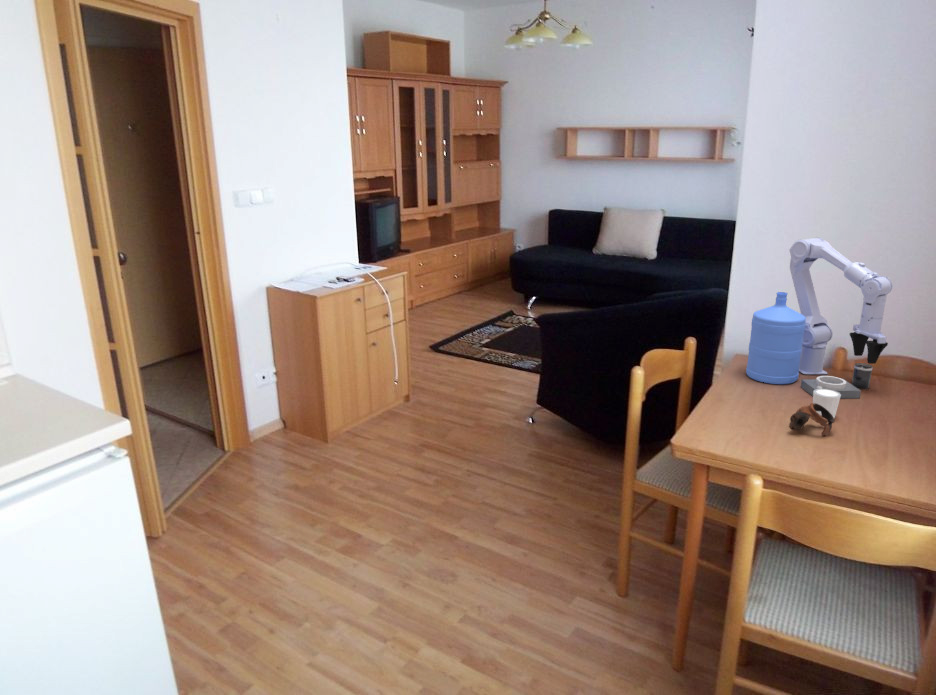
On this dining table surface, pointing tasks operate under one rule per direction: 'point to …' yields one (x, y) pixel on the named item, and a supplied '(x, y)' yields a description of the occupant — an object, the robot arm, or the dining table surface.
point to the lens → (862, 375)
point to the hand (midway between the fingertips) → (864, 359)
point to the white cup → (827, 400)
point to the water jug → (776, 343)
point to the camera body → (831, 386)
